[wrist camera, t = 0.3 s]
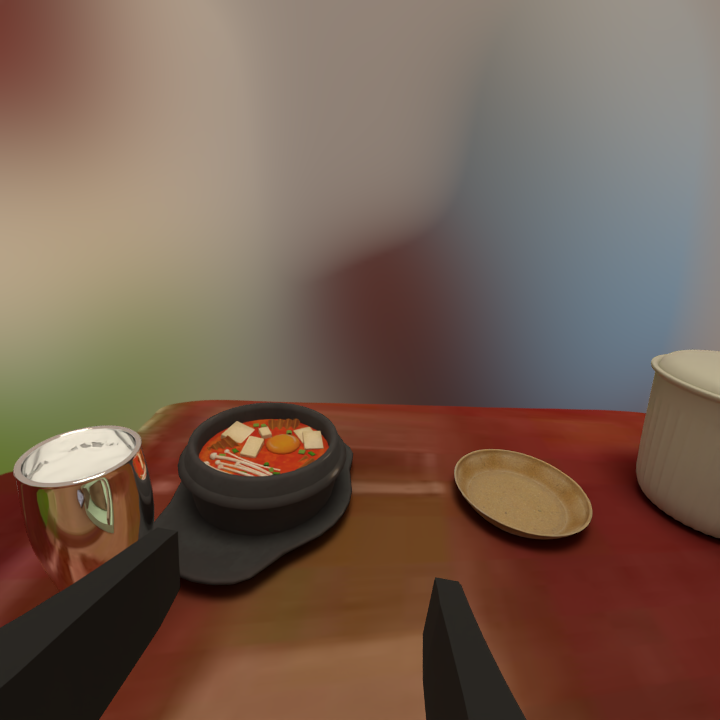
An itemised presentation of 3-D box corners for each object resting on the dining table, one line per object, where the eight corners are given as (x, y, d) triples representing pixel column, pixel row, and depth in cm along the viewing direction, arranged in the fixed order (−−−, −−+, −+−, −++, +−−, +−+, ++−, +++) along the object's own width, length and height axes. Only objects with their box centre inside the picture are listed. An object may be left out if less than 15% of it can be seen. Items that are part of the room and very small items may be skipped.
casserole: (268, 643, 28) (265, 558, 25) (100, 549, 35) (83, 473, 32) (384, 464, 50) (390, 407, 47) (267, 427, 57) (266, 375, 54)
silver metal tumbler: (186, 584, 32) (166, 429, 27) (132, 675, 26) (92, 495, 21) (108, 572, 33) (74, 418, 28) (35, 660, 26) (-27, 480, 21)
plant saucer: (569, 480, 50) (575, 463, 49) (604, 573, 36) (611, 552, 35) (454, 455, 53) (457, 439, 52) (446, 532, 40) (450, 512, 39)
